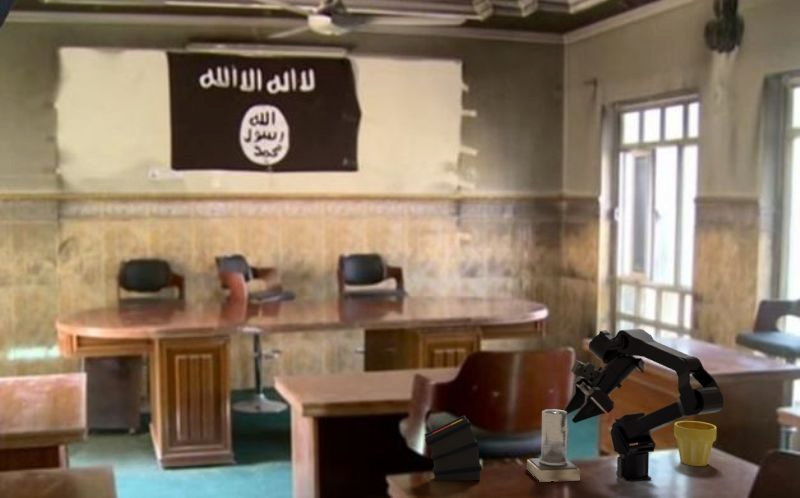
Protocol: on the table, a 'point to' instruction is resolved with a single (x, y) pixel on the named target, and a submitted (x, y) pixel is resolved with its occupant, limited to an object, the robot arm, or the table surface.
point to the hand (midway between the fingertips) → (568, 417)
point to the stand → (553, 471)
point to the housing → (554, 438)
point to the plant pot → (694, 441)
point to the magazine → (454, 451)
